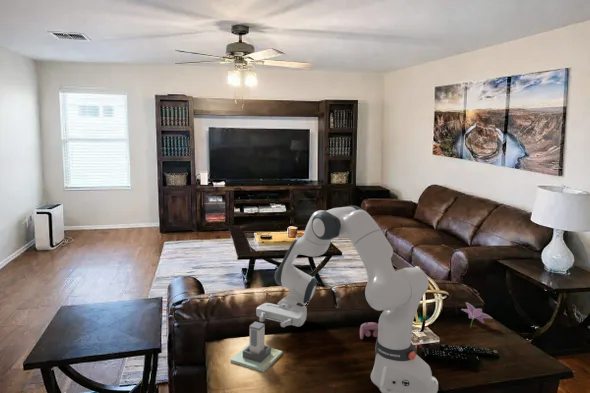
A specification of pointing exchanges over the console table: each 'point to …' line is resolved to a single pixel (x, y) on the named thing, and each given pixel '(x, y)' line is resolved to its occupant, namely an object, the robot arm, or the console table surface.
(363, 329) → the video game controller
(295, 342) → the console table surface
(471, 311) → the lily
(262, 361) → the board
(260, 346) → the plug
